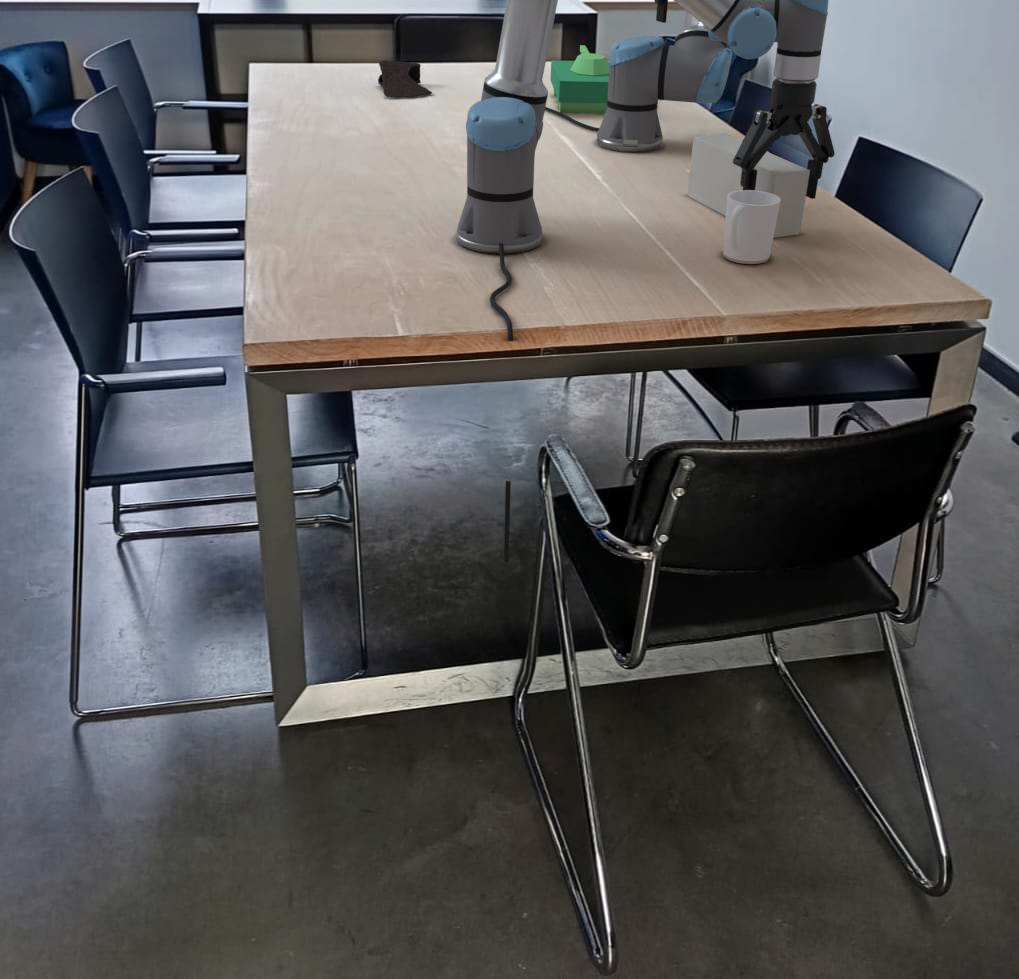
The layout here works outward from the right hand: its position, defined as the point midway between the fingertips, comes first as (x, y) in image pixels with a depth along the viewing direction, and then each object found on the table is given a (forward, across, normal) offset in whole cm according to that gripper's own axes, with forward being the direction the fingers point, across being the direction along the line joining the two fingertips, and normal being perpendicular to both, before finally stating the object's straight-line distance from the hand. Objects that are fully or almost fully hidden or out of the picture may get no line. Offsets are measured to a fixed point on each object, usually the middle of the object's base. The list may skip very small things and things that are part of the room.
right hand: (690, 20), depth 219 cm
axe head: (+31, +29, -97) cm, 106 cm away
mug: (+31, +16, +50) cm, 61 cm away
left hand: (+25, +2, +39) cm, 46 cm away
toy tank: (+31, -13, -70) cm, 77 cm away
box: (+31, +2, +28) cm, 42 cm away
